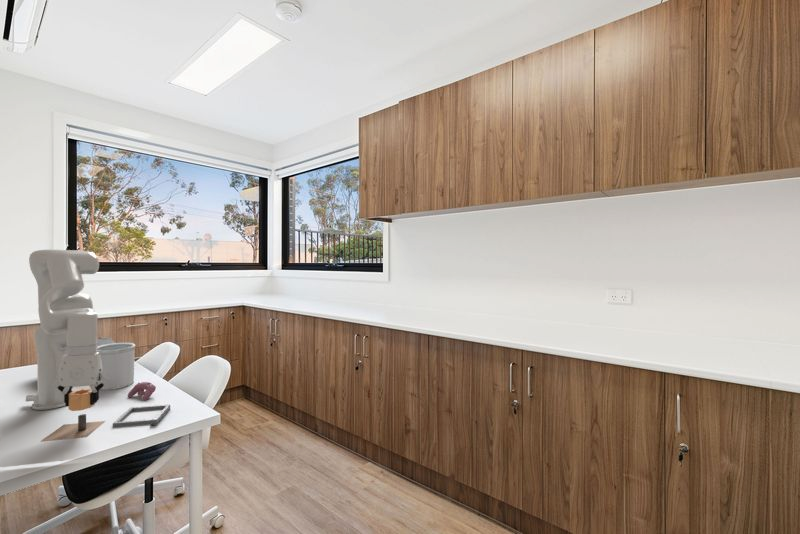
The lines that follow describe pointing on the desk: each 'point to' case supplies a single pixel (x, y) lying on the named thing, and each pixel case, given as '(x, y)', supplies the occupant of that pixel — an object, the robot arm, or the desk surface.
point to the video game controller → (142, 390)
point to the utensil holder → (117, 364)
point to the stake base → (74, 430)
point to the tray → (140, 422)
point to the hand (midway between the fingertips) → (81, 403)
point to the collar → (80, 400)
